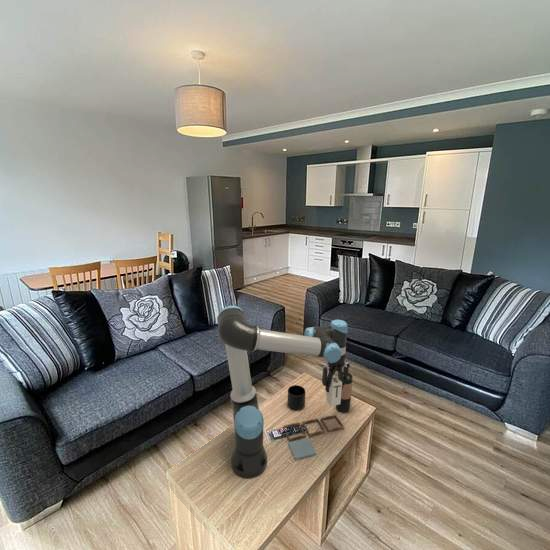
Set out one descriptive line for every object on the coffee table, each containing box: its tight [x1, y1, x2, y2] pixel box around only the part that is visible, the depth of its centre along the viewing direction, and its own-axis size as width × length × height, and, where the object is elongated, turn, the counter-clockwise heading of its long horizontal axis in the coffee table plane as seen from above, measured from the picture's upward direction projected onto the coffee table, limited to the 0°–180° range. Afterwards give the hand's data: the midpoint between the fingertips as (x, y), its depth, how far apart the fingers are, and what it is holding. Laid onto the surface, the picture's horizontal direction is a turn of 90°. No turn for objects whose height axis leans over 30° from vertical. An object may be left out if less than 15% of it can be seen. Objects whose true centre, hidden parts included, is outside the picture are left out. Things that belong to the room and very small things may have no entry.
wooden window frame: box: [301, 418, 326, 438], centre depth 142 cm, size 8×8×2 cm
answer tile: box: [287, 437, 317, 461], centre depth 130 cm, size 10×9×1 cm
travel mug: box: [335, 371, 353, 414], centre depth 154 cm, size 8×8×20 cm
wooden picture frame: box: [282, 422, 307, 442], centre depth 139 cm, size 8×8×2 cm
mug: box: [287, 384, 306, 412], centre depth 158 cm, size 9×12×9 cm
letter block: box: [325, 376, 342, 407], centre depth 140 cm, size 5×5×12 cm
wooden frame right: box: [319, 414, 345, 434], centre depth 145 cm, size 8×8×2 cm
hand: (333, 395), depth 141 cm, fingers closed on letter block, 5 cm apart
